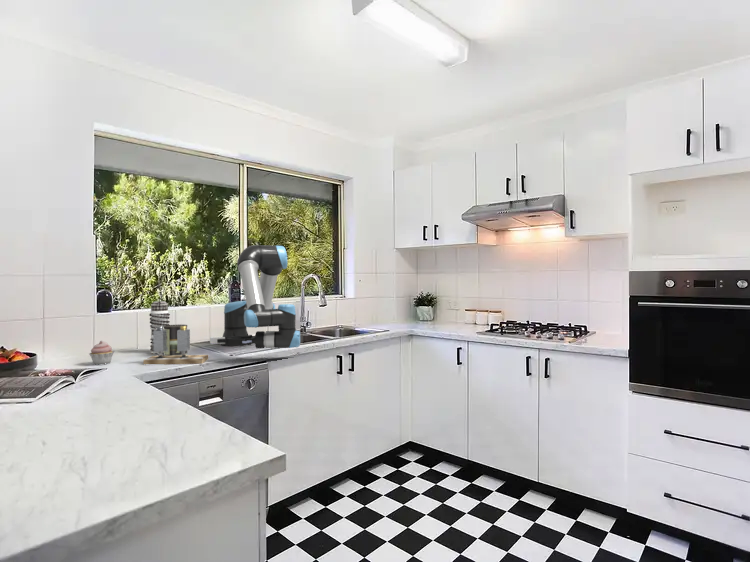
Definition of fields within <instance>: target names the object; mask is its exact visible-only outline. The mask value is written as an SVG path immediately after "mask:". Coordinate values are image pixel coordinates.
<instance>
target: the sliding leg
mask: <svg viewBox="0 0 750 562" xmlns="http://www.w3.org/2000/svg"><path fill="white" fill-rule="evenodd" d="M190 337H191V331H190V329H189V328H187V329H186V326H181V329H180V330H177V351H182V357H185V356H186V353H185V351H187V352H188V351H190V350H191V346H190V345H191V340H190V339H191V338H190Z"/></svg>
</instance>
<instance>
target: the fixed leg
mask: <svg viewBox="0 0 750 562" xmlns="http://www.w3.org/2000/svg"><path fill="white" fill-rule="evenodd" d="M153 347H154V352H158V355H157V356H158V358H162V356H163V353H162V352H163V351H166V350H167V337H166V330H163V326H158V327H157V330H155V331H153Z"/></svg>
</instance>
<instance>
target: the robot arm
mask: <svg viewBox="0 0 750 562" xmlns="http://www.w3.org/2000/svg"><path fill="white" fill-rule="evenodd" d="M236 263H237V271H238V273H239V274H240V275H241V281H242V286H243V291H244V292H243V293H244V297H245V300H238V301H232V302H228V303H226V304H225V305H224V307H223V310H224V311H223V315H224V316H223V317H224V321H223V322H224V324H223V326H224V330H223V334H222V336H213V337H212V336H211V337H209V344H210V345H214V344H215V345H216V344H217V345H218V344H219V345H221V344H222V345H221V346H224V345H229V346H228V347H236V346H237V347H238V346H239V345H240V346H252V344H254V345H255V346H254V347H255V348H256V349H264V348H265V349H270V350H274V349H291V348H292V349H293V348H299V347H300V346H301V331H300V330H297V329H296V323H297V322H296V321H297V320H296V317H297V313H296V306H295V305H294V304H292V303H287V304H286V303H283V304H282V303H281V304H278V307H277V308H276V304H275V303H274V302H273V297H274V291H275V289H276V284H277V279H278V276H279V275H280V274H282V272H283V270H286V269H287V268H288V254H287V250H286V248H285V246H283V245H270V244H269V245H266V244H264V245H263V244H262V245H261V244H259V245H257V244H253V245H252V244H251V245H249V246H247V247H246V248H245V249H243V250H242V251H241V252H240V254H239V257H238V258H237V262H236ZM258 270H259V271H260V276H259V272H258ZM263 327H278V328H277V329H278V330H267V331H264V330H262V331H261V330H259V331H256V332H255V336H254V335H252V334H249V333H248V330H247V328H263Z"/></svg>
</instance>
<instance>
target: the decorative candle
mask: <svg viewBox="0 0 750 562" xmlns="http://www.w3.org/2000/svg"><path fill="white" fill-rule="evenodd" d="M170 315H171V314H170V313H169V303H167V302H166V301H164V300H162V301H161V300H160V301H157V300H156V301H152V303H151V304H150V313H149V314H148V316H149V324H150V325H149V327H150V330H151V332H150V339H149V340H150V341H149V342H150V345H149V346H150V349H149V350H150V354H152V353H158V352H154V347H153V331H155V330H157V327H158V326H163V330H164V326H166V325H170V321H169V320H170V318H171V317H170ZM162 354H164V351H163V352H162Z"/></svg>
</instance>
